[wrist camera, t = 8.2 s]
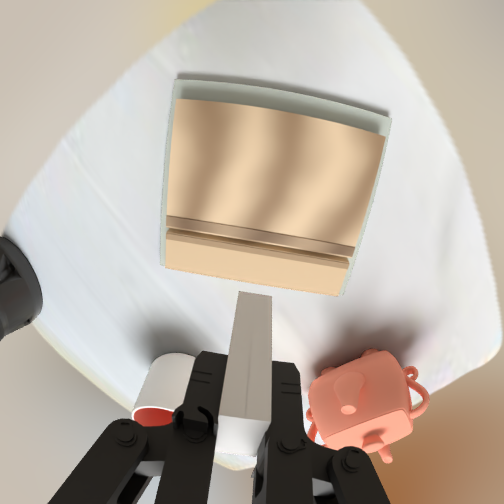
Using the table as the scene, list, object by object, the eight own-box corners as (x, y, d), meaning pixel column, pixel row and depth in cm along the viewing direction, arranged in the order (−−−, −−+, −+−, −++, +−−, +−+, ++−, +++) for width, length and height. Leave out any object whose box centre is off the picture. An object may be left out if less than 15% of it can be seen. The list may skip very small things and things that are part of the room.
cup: (147, 377, 41) (127, 427, 32) (161, 337, 37) (136, 395, 28) (206, 400, 42) (195, 452, 33) (230, 365, 38) (220, 426, 29)
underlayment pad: (162, 260, 32) (156, 270, 29) (178, 80, 23) (170, 77, 21) (341, 290, 32) (345, 302, 30) (388, 118, 24) (397, 118, 21)
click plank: (170, 222, 28) (165, 227, 27) (180, 98, 23) (175, 98, 22) (348, 252, 29) (351, 258, 27) (381, 135, 23) (386, 136, 22)
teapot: (328, 327, 34) (345, 413, 23) (427, 346, 35) (459, 413, 24) (286, 397, 41) (287, 470, 29) (376, 407, 42) (391, 469, 30)
